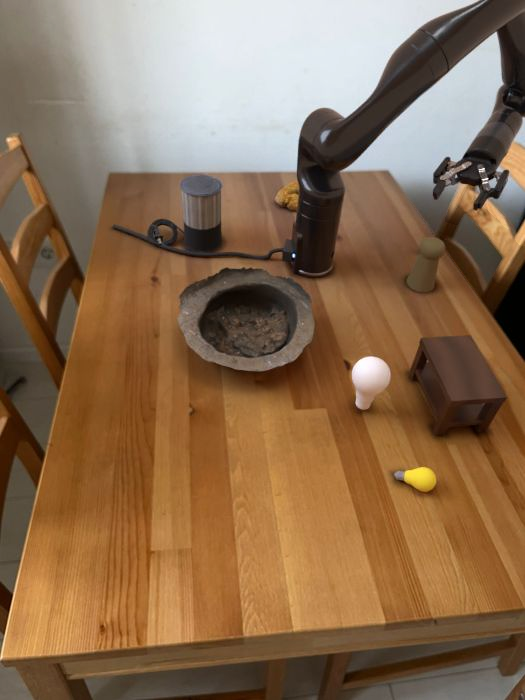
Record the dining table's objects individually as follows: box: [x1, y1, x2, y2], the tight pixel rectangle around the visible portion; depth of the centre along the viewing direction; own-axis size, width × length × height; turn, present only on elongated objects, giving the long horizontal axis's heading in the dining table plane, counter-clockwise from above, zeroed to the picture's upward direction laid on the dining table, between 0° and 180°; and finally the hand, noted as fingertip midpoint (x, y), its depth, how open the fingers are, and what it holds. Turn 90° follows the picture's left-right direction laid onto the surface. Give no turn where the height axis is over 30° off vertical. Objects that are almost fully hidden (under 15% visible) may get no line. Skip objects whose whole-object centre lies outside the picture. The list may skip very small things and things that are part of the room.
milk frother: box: [146, 173, 224, 253], centre depth 115 cm, size 14×16×15 cm
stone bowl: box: [177, 266, 316, 372], centre depth 94 cm, size 25×25×9 cm
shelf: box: [408, 334, 508, 436], centre depth 86 cm, size 9×14×9 cm, turn 7°
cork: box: [406, 236, 446, 293], centre depth 109 cm, size 6×6×11 cm
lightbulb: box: [351, 356, 392, 411], centre depth 84 cm, size 6×6×11 cm
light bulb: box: [393, 466, 437, 493], centre depth 76 cm, size 3×6×4 cm, turn 70°
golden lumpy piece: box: [274, 180, 299, 212], centre depth 134 cm, size 10×11×5 cm
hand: (454, 202), depth 106 cm, fingers open, 8 cm apart
